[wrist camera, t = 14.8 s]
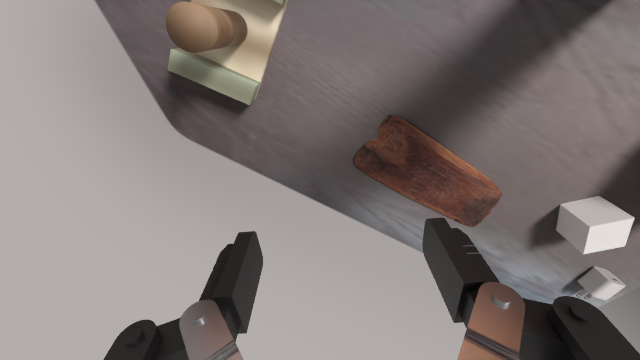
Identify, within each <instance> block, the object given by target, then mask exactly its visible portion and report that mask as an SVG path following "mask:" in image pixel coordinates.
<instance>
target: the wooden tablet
mask: <svg viewBox="0 0 640 360" xmlns="http://www.w3.org/2000/svg"><path fill="white" fill-rule="evenodd" d="M354 164H355V165H356V166H357V167H358V168H360V169H361V170H362V171H364V172H365V173H367V174H368V175H370V176H371V177H373V178H375V179H376V180H378V181H380V182H381V183H383V184H385V185H386V186H388V187H390V188H391V189H394V190H395V191H397V192H399V193H401V194H402V195H404V196H406V197H408V198H410V199H412V200H414V201H416V202H418V203H420V204H422V205H424V206H426V207H428V208H430V209H432V210H434V211H436V212H438V213H440V214H442V215H444V216H446V217H448V218H450V219H454V220H455V221H457V222H459V223H461V224H464V225H467V226H471V227H474V226H476V225H477V224H479V223H480V222H481V221H482V220H483V219H484V218H485V217H486V216H487V215H488V214H489V213H490V211H491V209H492V208H493V207H494V206H495V205H496V204H497V203H498V201H499V199H500V197H501V196H502V194H501V192H500V190H499V189H498V187H497V186H496V185H495V184H494V183H493V182H492V181H491V180H490V179H489V178H487V177H486V176H485V175H483V174H482V173H480V172H479V171H478V170H476V169H475V168H473V167H472V166H470V165H469V164H467V163H466V162H464V161H463V160H461V159H460V158H459V157H457V156H456V155H454V154H453V153H452V152H450V151H449V150H447V149H446V148H445V147H443V146H442V145H440V144H439V143H437V142H436V141H434V140H433V139H431V138H430V137H428V136H427V135H425V134H424V133H423V132H421V131H420V130H418V129H417V128H416V127H414V126H413V125H411V124H410V123H408V122H406V121H405V120H403V119H401V118H399V117H396V116H393V115H390V116H387V117H386V118H385V120H384V121H383V123H382V124H381V126H380V128H379V132H378V138H377V139H373V140H370V141H369V142H367V143H366V144H365V145H363V147H362V148H361V149H360V150H359V151H358V152H357V154H356V156H355V157H354Z"/></svg>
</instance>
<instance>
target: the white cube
mask: <svg viewBox="0 0 640 360" xmlns="http://www.w3.org/2000/svg"><path fill="white" fill-rule="evenodd" d="M633 221H634V217H633V216H631V215H629V214H628V213H626V212H625V211H623V210H621V209H620V208H618V207H616V206H615V205H613V204H612V203H610V202H608V201H607V200H605V199H604V198H602V197H600V196H596V197H591V198H587V199H582V200H578V201H573V202H569V203H564V204H560V209H559V215H558V221H557V227H556V231H558V232H559V233H560V234H561V235H562V236H563V237H564V238H565V239H567V240H568V241H569V242H570V243H571V244H572V245H573V246H575V247H576V248H577V249H578V250H579V251H580V252H581V253H582V254H587V253H592V252H598V251H603V250H608V249H613V248H618V247H624V246H625V244H626V241H627V239H628V236H629V233H630V230H631V227H632V224H633Z"/></svg>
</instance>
